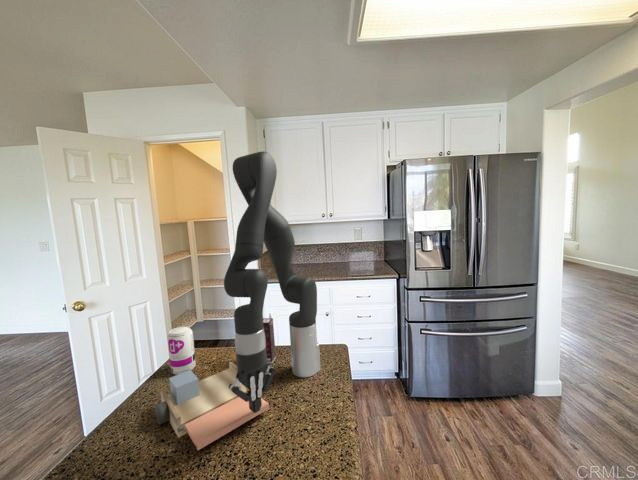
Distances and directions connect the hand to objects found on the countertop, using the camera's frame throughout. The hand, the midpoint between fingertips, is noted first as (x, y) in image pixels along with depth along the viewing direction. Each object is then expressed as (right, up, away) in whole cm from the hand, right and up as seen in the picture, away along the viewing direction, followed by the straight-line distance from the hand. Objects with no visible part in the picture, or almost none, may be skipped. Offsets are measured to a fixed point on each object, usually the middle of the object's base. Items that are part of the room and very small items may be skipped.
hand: (255, 410), depth 71 cm
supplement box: (-5, -2, +33) cm, 34 cm away
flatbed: (-16, -4, +10) cm, 19 cm away
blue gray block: (-23, -1, +10) cm, 25 cm away
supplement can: (-34, -4, +30) cm, 45 cm away
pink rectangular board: (-10, -2, +4) cm, 11 cm away
